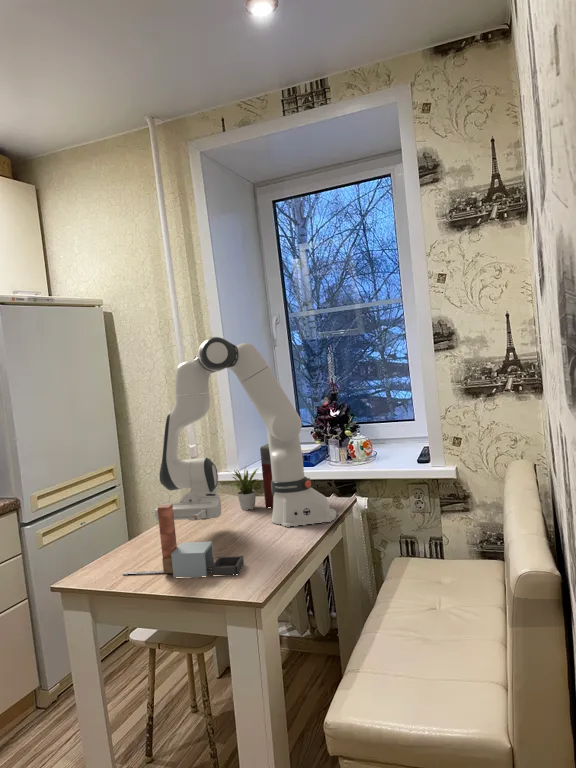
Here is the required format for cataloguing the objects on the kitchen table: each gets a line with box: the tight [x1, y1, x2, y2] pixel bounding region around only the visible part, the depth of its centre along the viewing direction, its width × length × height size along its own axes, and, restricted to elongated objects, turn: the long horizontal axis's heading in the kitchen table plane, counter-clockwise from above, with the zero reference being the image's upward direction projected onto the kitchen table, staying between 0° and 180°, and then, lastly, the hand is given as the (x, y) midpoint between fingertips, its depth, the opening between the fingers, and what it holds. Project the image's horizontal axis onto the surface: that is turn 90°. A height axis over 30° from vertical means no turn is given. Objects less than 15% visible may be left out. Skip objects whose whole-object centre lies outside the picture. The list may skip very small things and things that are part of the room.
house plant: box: [224, 466, 260, 511], centre depth 225 cm, size 14×14×16 cm
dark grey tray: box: [210, 555, 245, 577], centre depth 164 cm, size 7×8×2 cm
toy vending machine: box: [259, 443, 273, 509], centre depth 225 cm, size 9×11×28 cm
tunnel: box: [171, 540, 215, 579], centre depth 165 cm, size 9×9×7 cm
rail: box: [122, 568, 212, 576], centre depth 166 cm, size 26×1×1 cm, turn 82°
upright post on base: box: [156, 503, 178, 573], centre depth 165 cm, size 10×4×18 cm, turn 82°
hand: (180, 518), depth 177 cm, fingers open, 8 cm apart
